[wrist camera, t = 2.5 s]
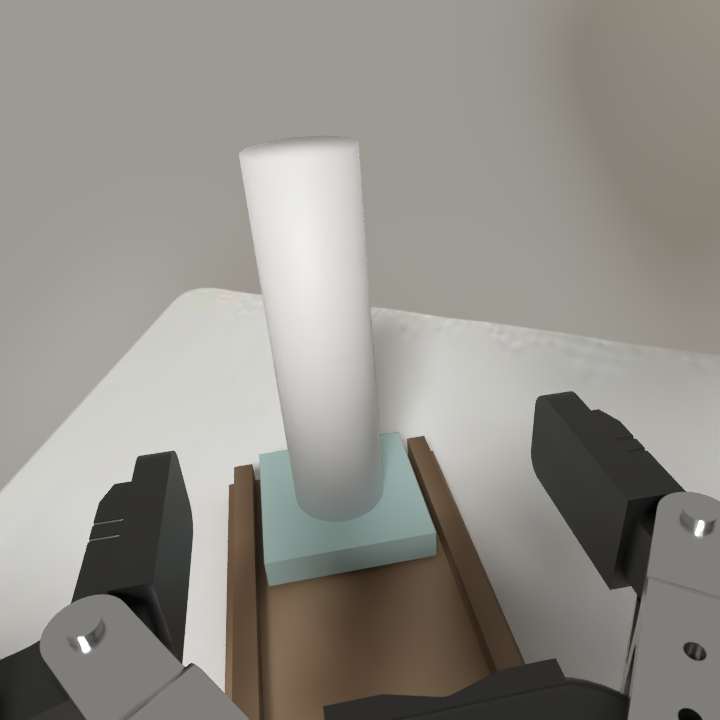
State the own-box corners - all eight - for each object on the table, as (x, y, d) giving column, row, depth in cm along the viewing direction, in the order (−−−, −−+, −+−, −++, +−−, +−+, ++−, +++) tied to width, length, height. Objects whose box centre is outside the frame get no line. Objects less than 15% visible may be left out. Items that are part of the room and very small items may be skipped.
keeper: (399, 452, 37) (382, 120, 27) (436, 555, 30) (430, 158, 20) (263, 474, 36) (197, 140, 26) (269, 586, 29) (182, 186, 20)
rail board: (432, 461, 37) (431, 409, 35) (669, 1018, 17) (697, 966, 15) (231, 495, 36) (219, 443, 34) (221, 1144, 16) (190, 1104, 14)
